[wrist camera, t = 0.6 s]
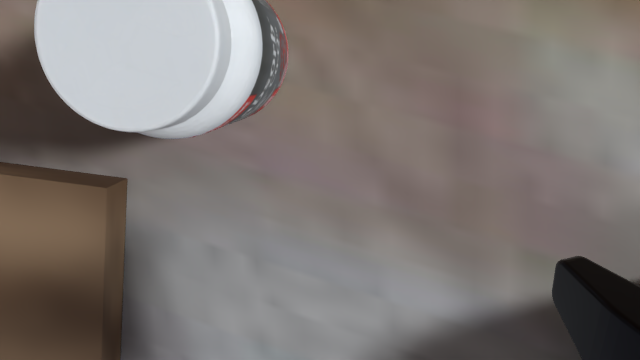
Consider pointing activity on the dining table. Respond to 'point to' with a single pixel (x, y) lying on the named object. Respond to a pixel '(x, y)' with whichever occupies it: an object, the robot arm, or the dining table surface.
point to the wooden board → (61, 264)
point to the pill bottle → (162, 61)
